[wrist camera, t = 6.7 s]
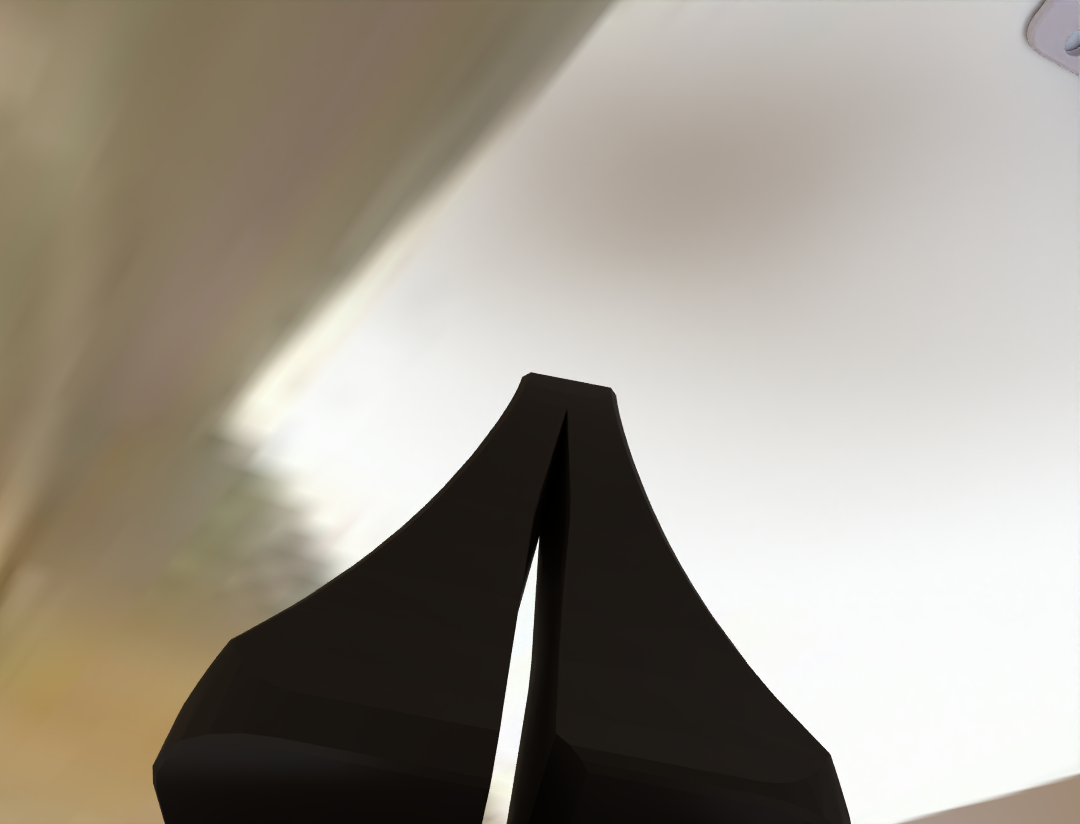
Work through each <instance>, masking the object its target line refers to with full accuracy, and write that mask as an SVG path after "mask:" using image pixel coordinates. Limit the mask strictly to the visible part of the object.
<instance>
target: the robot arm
mask: <svg viewBox="0 0 1080 824" xmlns="http://www.w3.org/2000/svg"><path fill="white" fill-rule="evenodd" d="M1078 30H1080V0H1046V1H1045V3H1044V4H1043V5H1042V7H1041V8H1040V9H1039V10H1038V12H1037V13H1036V14H1035V16H1034V17H1033V19H1032V21H1031V22H1030V24H1029V26H1028V32H1027V38H1028V41H1029V44H1030V45H1031V46H1032V47H1033V48H1034V49H1035V50H1036V51H1037V52H1038V53H1039V54H1040V55H1042V56H1044V57H1046V58H1048V59H1049V60H1051V61H1053V62H1055V63H1057V64H1058V65H1060V66H1062V67H1064V68H1066V69H1067V70H1069V71H1071V72H1073V73H1075V74H1077V75H1078V76H1080V46H1079V47H1078V48H1077V49H1074V50H1071V51H1065V43H1066V41H1067V39H1068V37H1069V36H1070V35H1072V34H1073V33H1074V32H1075V31H1078ZM538 539H539V551H538V566H537V582H536V598H535V614H534V629H533V645H532V661H531V671H530V680H529V689H528V696H527V702H526V708H525V715H524V721H523V727H522V733H521V740H520V746H519V752H518V758H517V764H516V770H515V776H514V783H513V789H512V795H511V801H510V807H509V813H508V819H507V824H851V821H850V817H849V813H848V809H847V806H846V803H845V799H844V796H843V792H842V789H841V786H840V783H839V779H838V776H837V773H836V770H835V767H834V764H833V761H832V758H831V755H830V754H829V752H828V751H827V750H826V749H825V748H824V747H823V746H822V745H821V744H820V743H819V742H818V741H817V740H816V739H815V738H814V737H813V736H812V735H811V734H810V733H809V732H808V730H807V729H806V728H805V727H804V726H803V725H802V724H801V723H800V722H799V721H798V720H797V719H796V718H795V717H794V716H793V715H792V714H791V713H790V712H789V711H788V710H787V709H786V708H785V707H784V705H783V704H782V703H781V702H780V701H779V700H778V699H777V698H776V697H775V696H774V695H773V694H772V692H771V691H770V690H769V689H768V688H767V687H766V685H765V684H764V683H763V682H762V681H761V679H760V678H759V677H758V676H757V675H756V673H755V672H754V671H753V670H752V669H751V667H750V666H749V665H748V664H747V662H746V661H745V659H744V658H743V657H742V655H741V654H740V653H739V651H738V650H737V649H736V647H735V646H734V644H733V643H732V642H731V640H730V639H729V638H728V636H727V635H726V634H725V632H724V631H723V630H722V628H721V627H720V625H719V624H718V623H717V621H716V620H715V619H714V617H713V616H712V614H711V613H710V611H709V610H708V608H707V607H706V605H705V604H704V602H703V601H702V599H701V597H700V596H699V594H698V593H697V591H696V590H695V588H694V586H693V585H692V583H691V581H690V580H689V578H688V576H687V575H686V573H685V571H684V569H683V568H682V566H681V564H680V563H679V561H678V559H677V557H676V555H675V553H674V552H673V550H672V548H671V546H670V544H669V542H668V540H667V538H666V536H665V534H664V532H663V530H662V528H661V526H660V524H659V522H658V519H657V517H656V515H655V513H654V511H653V509H652V506H651V504H650V502H649V499H648V497H647V495H646V492H645V490H644V487H643V485H642V482H641V479H640V477H639V474H638V472H637V469H636V466H635V464H634V461H633V458H632V455H631V452H630V449H629V446H628V443H627V440H626V436H625V433H624V430H623V426H622V422H621V418H620V414H619V410H618V405H617V398H616V395H615V393H614V392H613V390H612V389H611V388H610V387H604V386H599V385H594V384H589V383H584V382H578V381H573V380H568V379H563V378H558V377H552V376H547V375H542V374H537V373H532V372H531V373H529V374H527V375H525V376H523V377H522V379H521V382H520V384H519V387H518V389H517V391H516V393H515V394H514V396H513V398H512V400H511V402H510V403H509V405H508V406H507V408H506V410H505V411H504V413H503V414H502V416H501V417H500V419H499V420H498V422H497V423H496V424H495V426H494V427H493V428H492V430H491V431H490V432H489V434H488V435H487V436H486V438H485V439H484V440H483V442H482V443H481V444H480V445H479V447H478V448H477V449H476V451H475V452H474V453H473V454H472V456H471V457H470V458H469V459H468V460H467V461H466V462H465V464H464V465H463V466H462V467H461V468H460V469H459V470H458V471H457V473H456V474H455V475H454V476H453V477H452V478H451V479H450V480H449V482H448V483H447V484H446V485H445V486H444V487H443V488H442V489H441V490H440V491H439V492H438V493H437V494H436V495H435V496H434V497H433V498H432V499H431V500H430V501H429V502H428V503H427V504H426V505H425V506H424V507H423V508H422V509H421V510H420V511H419V512H418V513H417V514H415V515H414V516H413V517H412V518H411V519H410V520H409V521H408V522H407V523H406V524H404V525H403V526H402V527H401V528H400V529H399V530H397V531H396V532H395V533H394V534H393V535H391V536H390V537H389V538H388V539H386V540H385V541H384V542H383V543H382V544H380V545H379V546H378V547H377V548H376V549H374V550H373V551H372V552H370V553H369V554H368V555H367V556H365V557H364V558H363V559H361V560H360V561H359V562H357V563H356V564H355V565H353V566H352V567H350V568H349V569H347V570H346V571H344V572H343V573H341V574H340V575H338V576H337V577H335V578H334V579H332V580H331V581H329V582H328V583H327V584H325V585H324V586H322V587H321V588H319V589H318V590H316V591H315V592H313V593H312V594H310V595H309V596H307V597H306V598H304V599H302V600H301V601H299V602H297V603H296V604H294V605H293V606H291V607H289V608H287V609H285V610H284V611H282V612H280V613H278V614H276V615H275V616H273V617H271V618H269V619H268V620H266V621H264V622H262V623H260V624H259V625H257V626H255V627H253V628H251V629H250V630H248V631H246V632H244V633H242V634H241V635H239V636H237V637H235V638H233V639H231V640H230V641H229V642H228V644H227V645H226V646H225V647H224V648H223V650H222V651H221V652H220V654H219V655H218V656H217V657H216V659H215V660H214V661H213V663H212V664H211V665H210V667H209V668H208V669H207V671H206V672H205V674H204V675H203V676H202V678H201V679H200V681H199V682H198V684H197V685H196V687H195V688H194V690H193V691H192V693H191V694H190V696H189V697H188V699H187V700H186V702H185V703H184V705H183V707H182V709H181V710H180V712H179V714H178V716H177V718H176V720H175V722H174V724H173V726H172V728H171V730H170V732H169V734H168V736H167V738H166V740H165V742H164V744H163V746H162V748H161V750H160V752H159V754H158V756H157V758H156V760H155V762H154V764H153V784H154V788H155V791H156V795H157V798H158V802H159V805H160V809H161V812H162V815H163V819H164V822H165V824H482V821H483V816H484V812H485V807H486V803H487V798H488V794H489V789H490V784H491V779H492V773H493V767H494V761H495V755H496V750H497V744H498V738H499V732H500V726H501V719H502V712H503V705H504V699H505V692H506V686H507V679H508V673H509V666H510V660H511V653H512V647H513V640H514V634H515V628H516V622H517V615H518V610H519V607H520V603H521V600H522V596H523V593H524V589H525V586H526V582H527V578H528V575H529V571H530V568H531V564H532V561H533V557H534V553H535V550H536V546H537V543H538Z"/></svg>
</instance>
